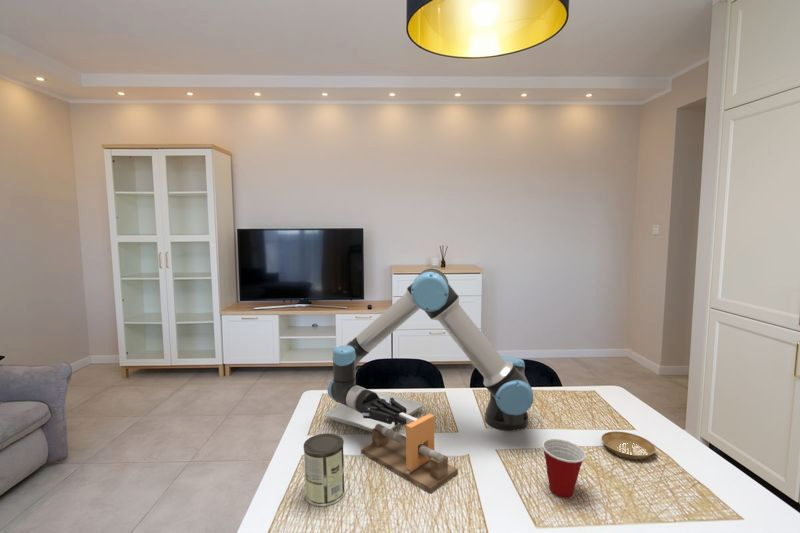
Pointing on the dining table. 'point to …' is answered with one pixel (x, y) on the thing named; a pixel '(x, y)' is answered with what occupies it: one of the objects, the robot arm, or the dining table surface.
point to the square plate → (357, 420)
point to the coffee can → (324, 469)
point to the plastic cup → (562, 465)
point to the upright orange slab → (419, 440)
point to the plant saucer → (617, 438)
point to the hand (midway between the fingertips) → (416, 424)
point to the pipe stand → (392, 455)
